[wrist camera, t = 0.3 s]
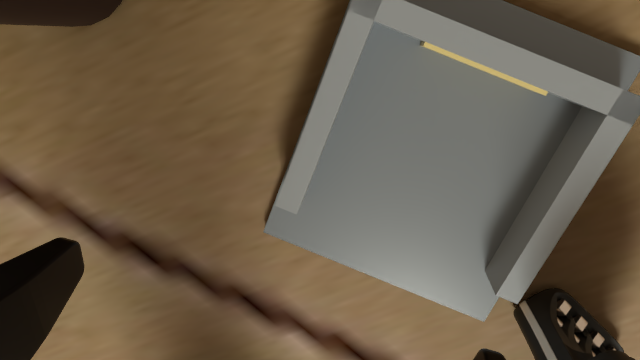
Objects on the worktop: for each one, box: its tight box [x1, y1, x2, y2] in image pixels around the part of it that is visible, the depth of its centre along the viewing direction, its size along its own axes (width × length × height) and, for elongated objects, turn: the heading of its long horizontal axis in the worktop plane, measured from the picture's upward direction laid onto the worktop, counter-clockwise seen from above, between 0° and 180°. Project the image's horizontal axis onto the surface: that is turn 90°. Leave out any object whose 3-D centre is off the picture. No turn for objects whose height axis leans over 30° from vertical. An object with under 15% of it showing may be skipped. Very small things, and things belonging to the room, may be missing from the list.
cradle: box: [264, 0, 640, 322], centre depth 22 cm, size 16×14×3 cm
